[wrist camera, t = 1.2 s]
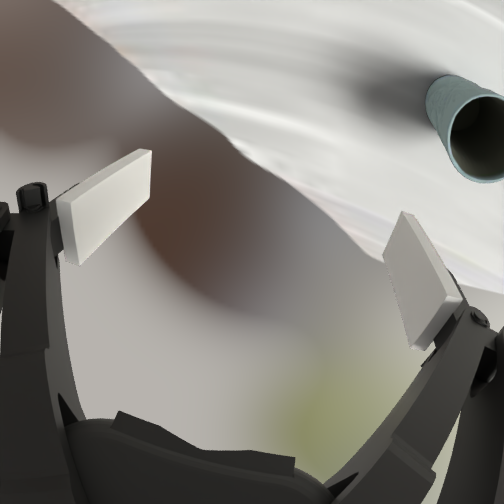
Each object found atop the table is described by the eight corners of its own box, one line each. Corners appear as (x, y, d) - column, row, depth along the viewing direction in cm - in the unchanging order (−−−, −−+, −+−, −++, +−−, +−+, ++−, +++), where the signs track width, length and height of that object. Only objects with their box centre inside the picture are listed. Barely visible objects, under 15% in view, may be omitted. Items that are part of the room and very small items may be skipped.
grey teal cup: (406, 108, 32) (428, 146, 24) (446, 52, 25) (485, 72, 17) (458, 151, 33) (488, 200, 25) (498, 102, 26) (541, 140, 18)
